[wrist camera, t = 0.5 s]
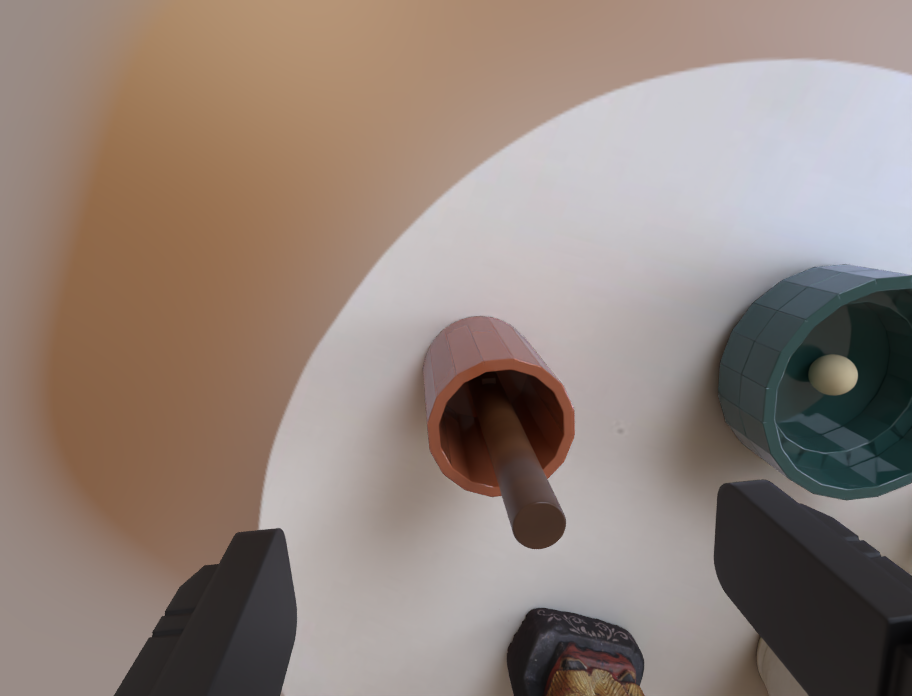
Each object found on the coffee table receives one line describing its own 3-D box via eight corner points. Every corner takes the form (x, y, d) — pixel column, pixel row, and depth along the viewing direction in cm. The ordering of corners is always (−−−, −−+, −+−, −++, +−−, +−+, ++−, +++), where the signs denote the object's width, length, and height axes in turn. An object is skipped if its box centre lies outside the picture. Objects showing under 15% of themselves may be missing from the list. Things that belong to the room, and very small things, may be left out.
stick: (463, 355, 37) (511, 498, 20) (493, 352, 37) (566, 492, 20) (466, 391, 38) (514, 559, 21) (495, 388, 38) (567, 553, 21)
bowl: (718, 272, 37) (774, 287, 32) (922, 255, 38) (1012, 266, 33) (706, 466, 41) (754, 510, 36) (891, 446, 42) (967, 487, 37)
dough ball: (801, 351, 39) (830, 363, 36) (839, 347, 39) (871, 359, 36) (797, 389, 39) (825, 403, 37) (834, 385, 40) (865, 399, 37)
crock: (418, 321, 37) (421, 366, 27) (531, 311, 37) (573, 352, 28) (428, 426, 39) (434, 503, 29) (535, 415, 39) (575, 488, 30)
